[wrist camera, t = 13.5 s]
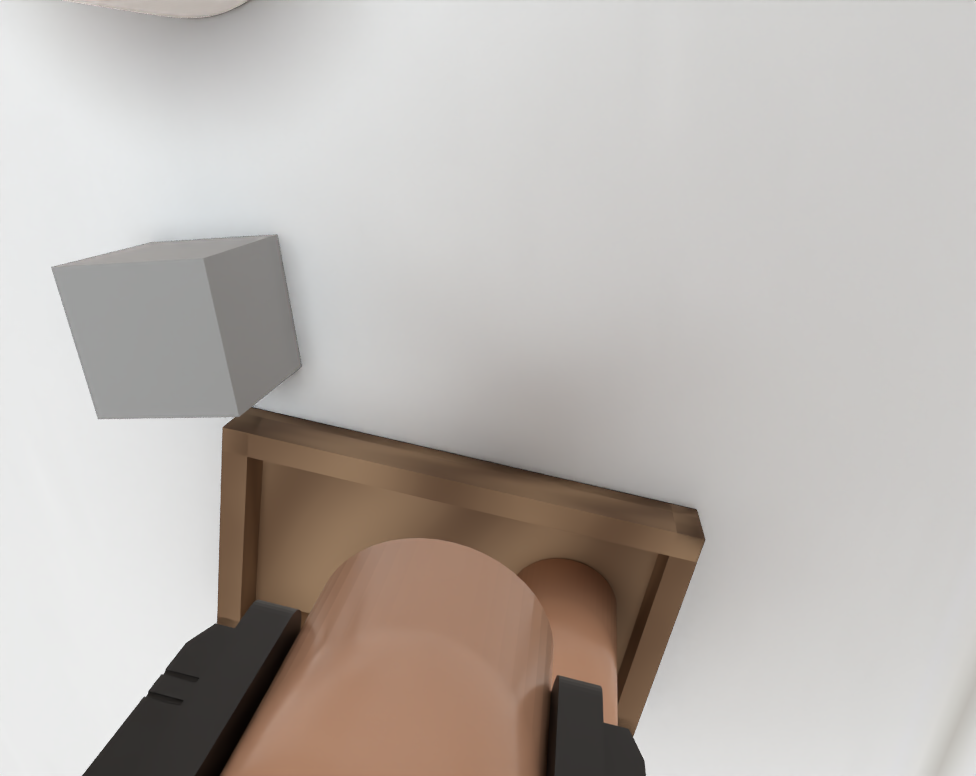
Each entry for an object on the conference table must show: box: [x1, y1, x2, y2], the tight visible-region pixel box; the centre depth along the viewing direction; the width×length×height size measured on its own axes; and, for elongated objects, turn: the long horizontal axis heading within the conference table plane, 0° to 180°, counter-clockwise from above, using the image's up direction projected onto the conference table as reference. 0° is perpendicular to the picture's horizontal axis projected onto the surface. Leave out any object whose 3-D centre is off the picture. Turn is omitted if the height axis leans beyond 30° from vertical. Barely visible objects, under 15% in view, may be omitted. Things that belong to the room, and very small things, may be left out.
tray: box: [217, 407, 705, 736], centre depth 27 cm, size 18×10×2 cm, turn 79°
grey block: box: [51, 234, 302, 419], centre depth 23 cm, size 5×5×5 cm
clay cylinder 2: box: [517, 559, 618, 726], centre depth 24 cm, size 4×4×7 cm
